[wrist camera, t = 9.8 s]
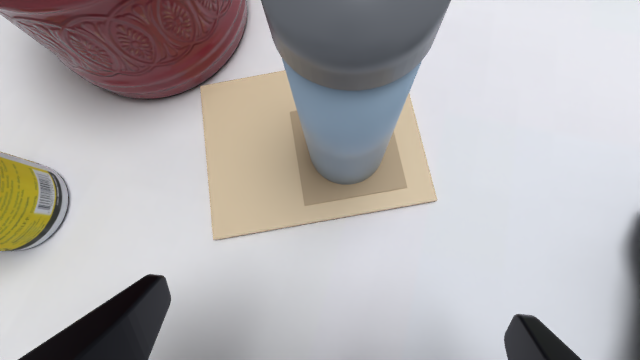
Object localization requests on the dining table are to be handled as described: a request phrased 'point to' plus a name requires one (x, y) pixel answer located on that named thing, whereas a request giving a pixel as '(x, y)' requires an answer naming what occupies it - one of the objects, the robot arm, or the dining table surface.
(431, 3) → the water bottle
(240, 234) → the kraft sheet
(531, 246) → the dining table surface
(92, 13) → the canister
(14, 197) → the supplement bottle
